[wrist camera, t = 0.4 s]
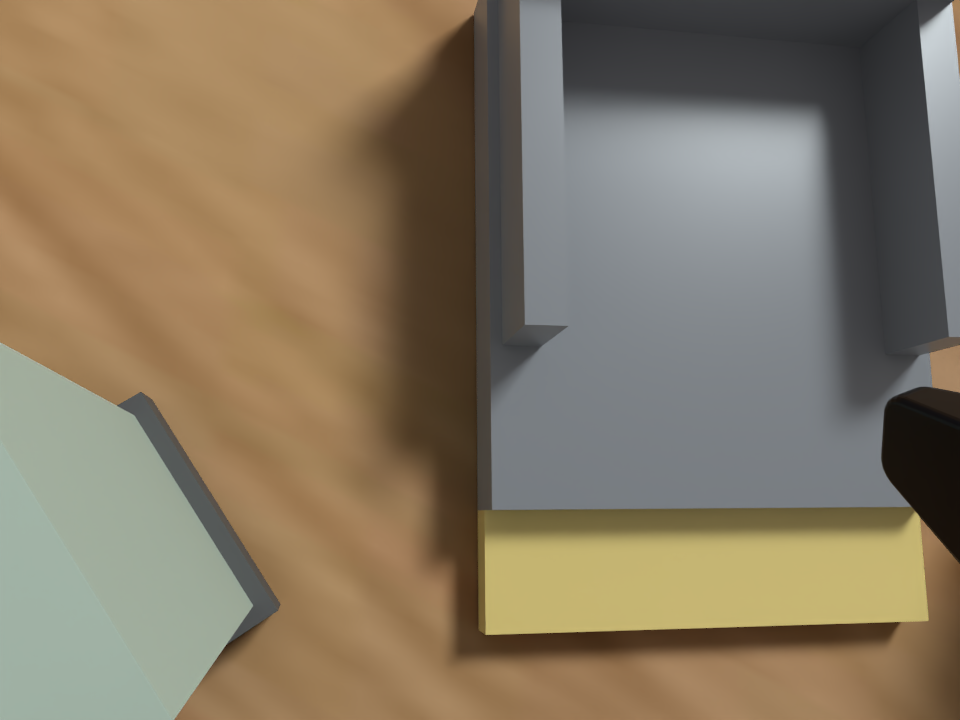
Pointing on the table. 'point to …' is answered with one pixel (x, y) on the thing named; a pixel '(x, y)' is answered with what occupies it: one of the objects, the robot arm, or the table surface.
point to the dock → (706, 305)
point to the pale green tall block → (108, 557)
